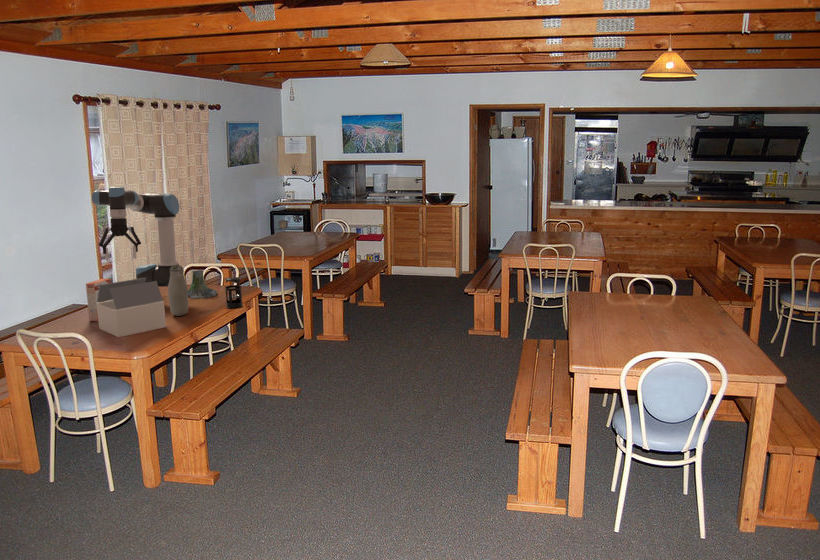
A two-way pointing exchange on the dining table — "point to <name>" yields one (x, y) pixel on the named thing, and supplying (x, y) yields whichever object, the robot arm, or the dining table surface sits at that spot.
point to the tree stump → (200, 287)
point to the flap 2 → (136, 294)
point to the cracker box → (94, 297)
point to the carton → (130, 318)
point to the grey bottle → (178, 291)
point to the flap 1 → (105, 288)
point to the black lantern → (233, 303)
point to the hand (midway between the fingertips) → (121, 259)
